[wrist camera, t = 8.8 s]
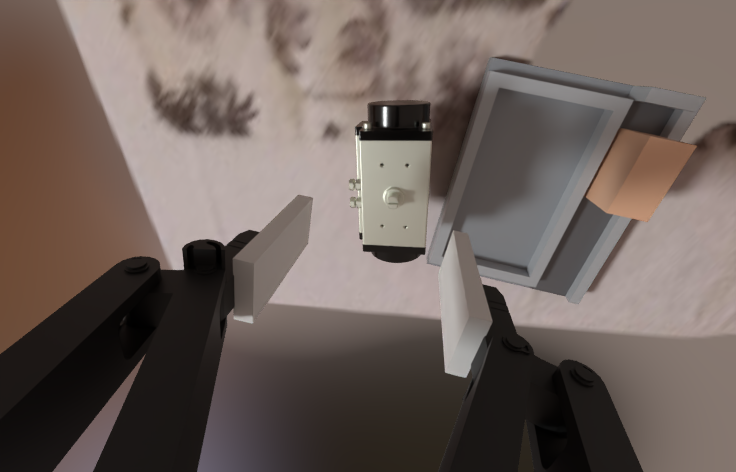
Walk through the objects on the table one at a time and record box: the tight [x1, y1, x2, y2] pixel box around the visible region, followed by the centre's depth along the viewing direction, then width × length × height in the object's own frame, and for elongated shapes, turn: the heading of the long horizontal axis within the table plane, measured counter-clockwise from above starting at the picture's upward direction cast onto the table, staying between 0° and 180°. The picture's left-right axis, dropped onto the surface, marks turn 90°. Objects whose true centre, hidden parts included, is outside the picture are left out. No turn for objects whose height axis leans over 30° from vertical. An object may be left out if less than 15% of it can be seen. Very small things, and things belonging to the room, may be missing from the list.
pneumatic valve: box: [349, 100, 433, 263], centre depth 27 cm, size 6×12×12 cm, turn 2°
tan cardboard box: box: [584, 128, 697, 222], centre depth 26 cm, size 6×3×4 cm, turn 170°
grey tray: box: [427, 57, 706, 304], centre depth 30 cm, size 20×16×4 cm
